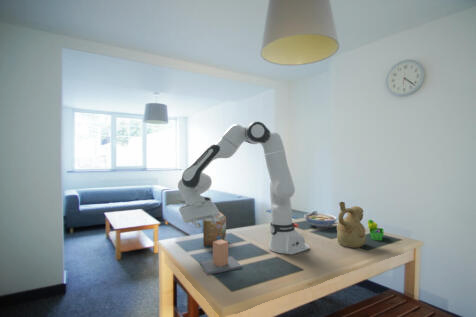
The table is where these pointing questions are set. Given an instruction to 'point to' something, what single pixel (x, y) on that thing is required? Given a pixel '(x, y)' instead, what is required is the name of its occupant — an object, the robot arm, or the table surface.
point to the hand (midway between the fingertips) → (207, 225)
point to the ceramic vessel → (350, 227)
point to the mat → (213, 268)
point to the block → (220, 252)
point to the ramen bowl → (320, 219)
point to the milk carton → (214, 229)
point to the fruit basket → (375, 230)
